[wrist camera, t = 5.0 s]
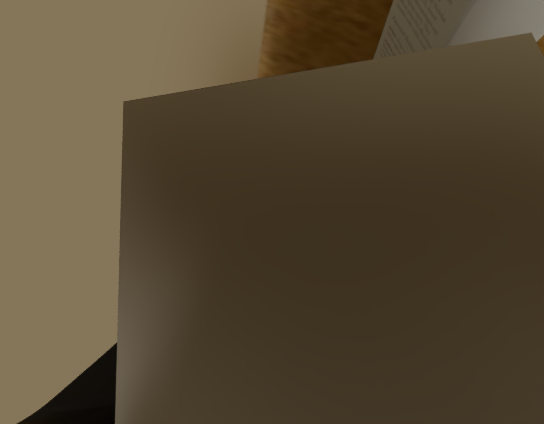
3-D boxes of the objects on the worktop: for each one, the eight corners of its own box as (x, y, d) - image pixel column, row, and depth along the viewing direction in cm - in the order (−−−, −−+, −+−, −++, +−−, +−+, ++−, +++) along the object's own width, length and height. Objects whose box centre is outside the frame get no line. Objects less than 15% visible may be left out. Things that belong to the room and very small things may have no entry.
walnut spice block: (362, 328, 14) (878, 644, 2) (267, 341, 14) (78, 703, 2) (343, 234, 15) (542, 15, 3) (256, 247, 16) (107, 90, 3)
